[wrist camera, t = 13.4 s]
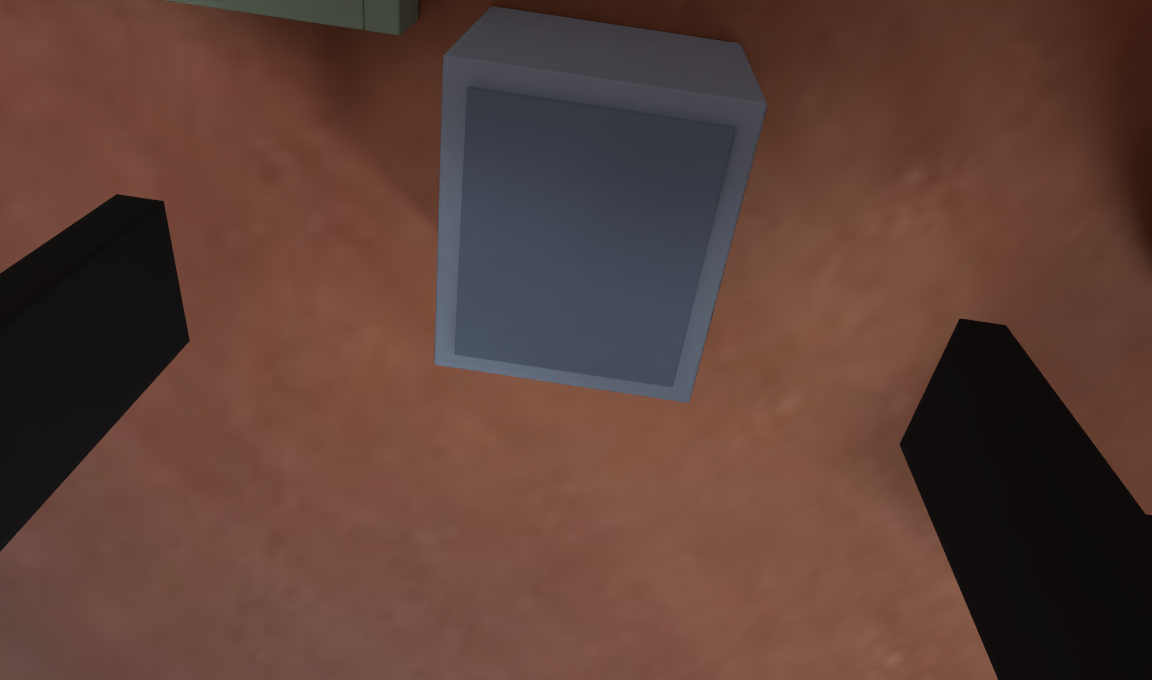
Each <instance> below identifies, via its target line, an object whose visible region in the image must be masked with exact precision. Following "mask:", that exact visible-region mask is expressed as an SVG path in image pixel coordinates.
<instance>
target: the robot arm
mask: <svg viewBox="0 0 1152 680" xmlns="http://www.w3.org/2000/svg"><path fill="white" fill-rule="evenodd" d="M189 341H190V340H189V335H188V330H187V324H186V319H185V314H184V308H183V303H182V297H181V292H180V287H179V281H178V276H177V271H176V265H175V260H174V254H173V249H172V244H171V238H170V233H169V228H168V222H167V217H166V211H165V206H164V201H159V200H152V199H145V198H138V197H132V196H125V195H118V194H116V195H115V196H114V197H112V198H111V199H109V200H108V201H106V202H105V203H103V204H102V205H100V206H99V207H97V208H96V209H94V210H93V211H92V212H90V213H89V214H87V215H86V216H84V217H83V218H81V219H80V220H78V221H77V222H75V223H74V224H72V225H71V226H69V227H68V228H67V229H65V230H64V231H62V232H61V233H59V234H58V235H56V236H55V237H53V238H52V239H50V240H49V241H47V242H46V243H44V244H43V245H42V246H40V247H39V248H37V249H36V250H34V251H33V252H31V253H30V254H28V255H27V256H25V257H24V258H22V259H21V260H20V261H18V262H17V263H15V264H14V265H12V266H11V267H9V268H8V269H6V270H5V271H3V272H2V273H0V551H1V550H2V549H3V548H4V547H5V546H6V545H7V544H8V542H9V541H10V540H11V539H12V538H13V537H14V536H15V535H16V534H17V532H18V531H19V530H20V529H21V528H22V527H23V526H24V525H25V523H26V522H27V521H28V520H29V519H30V518H31V517H32V516H33V515H34V513H35V512H36V511H37V510H38V509H39V508H40V507H41V506H42V505H43V503H44V502H45V501H46V500H47V499H48V498H49V497H50V496H51V495H52V493H53V492H54V491H55V490H56V489H57V488H58V487H59V486H60V485H61V483H62V482H63V481H64V480H65V479H66V478H67V477H68V476H69V475H70V473H71V472H72V471H73V470H74V469H75V468H76V467H77V466H78V465H79V463H80V462H81V461H82V460H83V459H84V458H85V457H86V456H87V455H88V453H89V452H90V451H91V450H92V449H93V448H94V447H95V446H96V445H97V443H98V442H99V441H100V440H101V439H102V438H103V437H104V436H105V434H106V433H107V432H108V431H109V430H110V429H111V428H112V427H113V426H114V424H115V423H116V422H117V421H118V420H119V419H120V418H121V417H122V416H123V414H124V413H125V412H126V411H127V410H128V409H129V408H130V407H131V406H132V404H133V403H134V402H135V401H136V400H137V399H138V398H139V397H140V396H141V394H142V393H143V392H144V391H145V390H146V389H147V388H148V387H149V386H150V384H151V383H152V382H153V381H154V380H155V379H156V378H157V377H158V376H159V374H160V373H161V372H162V371H163V370H164V369H165V368H166V367H167V366H168V364H169V363H170V362H171V361H172V360H173V359H174V358H175V357H176V356H177V354H178V353H179V352H180V351H181V350H182V349H183V348H184V347H185V345H186V344H187V343H188V342H189ZM900 447H901V449H902V452H903V454H904V456H905V459H906V461H907V464H908V466H909V468H910V471H911V473H912V475H913V478H914V480H915V483H916V485H917V487H918V490H919V492H920V494H921V497H922V499H923V502H924V504H925V506H926V509H927V511H928V514H929V516H930V518H931V521H932V523H933V525H934V528H935V530H936V533H937V535H938V537H939V540H940V542H941V544H942V547H943V549H944V552H945V554H946V556H947V559H948V561H949V564H950V566H951V568H952V571H953V573H954V575H955V578H956V580H957V583H958V585H959V587H960V590H961V592H962V595H963V597H964V599H965V602H966V604H967V606H968V609H969V611H970V614H971V616H972V618H973V621H974V623H975V625H976V628H977V630H978V633H979V635H980V637H981V640H982V642H983V645H984V647H985V649H986V652H987V654H988V656H989V659H990V661H991V664H992V666H993V668H994V671H995V673H996V675H997V678H998V680H1152V515H1147V514H1145V513H1144V512H1143V510H1142V509H1141V507H1140V506H1139V505H1138V503H1137V502H1136V501H1135V499H1134V498H1133V497H1132V495H1131V494H1130V493H1129V491H1128V490H1127V489H1126V487H1125V486H1124V484H1123V483H1122V482H1121V480H1120V479H1119V478H1118V476H1117V475H1116V474H1115V472H1114V471H1113V470H1112V468H1111V467H1110V466H1109V464H1108V463H1107V461H1106V460H1105V459H1104V457H1103V456H1102V455H1101V453H1100V452H1099V451H1098V449H1097V448H1096V447H1095V445H1094V444H1093V443H1092V441H1091V440H1090V438H1089V437H1088V436H1087V434H1086V433H1085V432H1084V430H1083V429H1082V428H1081V426H1080V425H1079V424H1078V422H1077V421H1076V420H1075V418H1074V417H1073V415H1072V414H1071V413H1070V411H1069V410H1068V409H1067V407H1066V406H1065V405H1064V403H1063V402H1062V401H1061V399H1060V398H1059V397H1058V395H1057V394H1056V392H1055V391H1054V390H1053V388H1052V387H1051V386H1050V384H1049V383H1048V382H1047V380H1046V379H1045V378H1044V376H1043V375H1042V374H1041V372H1040V371H1039V369H1038V368H1037V367H1036V365H1035V364H1034V363H1033V361H1032V360H1031V359H1030V357H1029V356H1028V355H1027V353H1026V352H1025V351H1024V349H1023V348H1022V346H1021V345H1020V344H1019V342H1018V341H1017V340H1016V338H1015V337H1014V336H1013V334H1012V333H1011V332H1010V330H1009V329H1008V328H1007V326H1006V325H1001V324H994V323H987V322H980V321H973V320H967V319H959V321H958V323H957V325H956V327H955V330H954V332H953V334H952V336H951V338H950V340H949V342H948V344H947V346H946V348H945V350H944V353H943V355H942V357H941V359H940V361H939V363H938V365H937V367H936V369H935V371H934V373H933V376H932V378H931V380H930V382H929V384H928V386H927V388H926V390H925V392H924V394H923V396H922V399H921V401H920V403H919V405H918V407H917V409H916V411H915V413H914V415H913V417H912V420H911V422H910V424H909V426H908V428H907V430H906V432H905V434H904V436H903V438H902V440H901V443H900Z"/></svg>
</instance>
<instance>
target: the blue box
mask: <svg viewBox="0 0 1152 680" xmlns="http://www.w3.org/2000/svg"><path fill="white" fill-rule="evenodd" d="M766 109H767V102H766V100H765V98H764V95H763V93H762V91H761V89H760V86H759V84H758V82H757V80H756V77H755V75H754V73H753V71H752V68H751V66H750V64H749V62H748V59H747V57H746V55H745V53H744V50H743V48H742V46H741V44H740V43H734V42H728V41H721V40H714V39H708V38H701V37H694V36H688V35H681V34H674V33H668V32H661V31H655V30H648V29H641V28H635V27H628V26H621V25H615V24H608V23H601V22H595V21H588V20H581V19H575V18H568V17H562V16H555V15H548V14H542V13H535V12H528V11H522V10H515V9H508V8H502V7H495V6H491V7H490V8H489V9H488V10H487V11H486V12H485V13H484V14H483V15H482V16H481V17H480V18H479V19H478V20H477V21H476V22H475V23H474V24H473V25H472V26H471V27H470V28H469V29H468V31H467V32H466V33H465V34H464V35H463V36H462V37H461V38H460V39H459V40H458V41H457V42H456V43H455V44H454V45H453V46H452V47H451V48H450V49H449V50H448V51H447V52H446V53H445V54H444V56H443V78H442V113H441V147H440V182H439V217H438V252H437V287H436V322H435V357H434V363H435V365H440V366H447V367H454V368H460V369H467V370H474V371H480V372H487V373H494V374H500V375H507V376H514V377H520V378H527V379H534V380H540V381H547V382H554V383H560V384H567V385H574V386H580V387H587V388H594V389H600V390H607V391H614V392H620V393H627V394H634V395H640V396H647V397H654V398H660V399H667V400H674V401H680V402H687V403H688V402H689V401H690V398H691V394H692V391H693V387H694V383H695V379H696V375H697V372H698V368H699V364H700V360H701V356H702V353H703V349H704V345H705V341H706V337H707V334H708V330H709V326H710V322H711V318H712V315H713V311H714V307H715V303H716V299H717V296H718V292H719V288H720V284H721V280H722V277H723V273H724V269H725V265H726V261H727V258H728V254H729V250H730V246H731V242H732V239H733V235H734V231H735V227H736V223H737V220H738V216H739V212H740V208H741V204H742V201H743V197H744V193H745V189H746V185H747V182H748V178H749V174H750V170H751V166H752V163H753V159H754V155H755V151H756V147H757V144H758V140H759V136H760V132H761V128H762V125H763V121H764V117H765V113H766Z"/></svg>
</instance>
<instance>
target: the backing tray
mask: <svg viewBox="0 0 1152 680" xmlns="http://www.w3.org/2000/svg"><path fill="white" fill-rule="evenodd" d="M166 1H172V2H179V3H186V4H192V5H199V6H205V7H212V8H219V9H225V10H232V11H239V12H245V13H252V14H259V15H265V16H272V17H279V18H285V19H292V20H298V21H305V22H312V23H318V24H325V25H332V26H338V27H345V28H352V29H358V30H364V29H365V30H366V31H371V32H378V33H384V34H391V35H400V34H402V33H403V32H404V31H405V30H407V29H408V28H409V27H411V26H412V25H413V24H414V23H415V22H417V21H418V0H166Z"/></svg>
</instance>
